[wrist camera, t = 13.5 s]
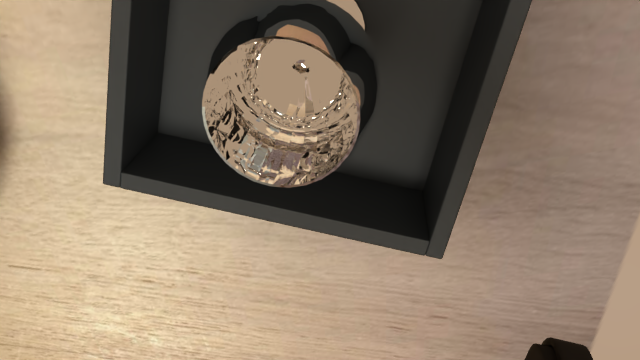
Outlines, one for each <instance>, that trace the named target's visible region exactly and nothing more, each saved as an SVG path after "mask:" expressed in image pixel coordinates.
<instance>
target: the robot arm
mask: <svg viewBox="0 0 640 360" xmlns="http://www.w3.org/2000/svg"><path fill="white" fill-rule="evenodd" d="M525 360H593V358H592V356H591V354H590V352H589V350H588V349H587V347H586V346H584V345H581V344H576V343H572V342H568V341H563V340H559V339H555V338H547V339H546V340H544V341H543V343H542V345H540V344H533V345H532V346H531V348H530V349H529V351H528V353H527V356H526V358H525Z"/></svg>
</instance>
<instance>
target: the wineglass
mask: <svg viewBox="0 0 640 360" xmlns="http://www.w3.org/2000/svg"><path fill="white" fill-rule="evenodd" d="M380 86H381V76H380V67H379V62H378V58H377V54H376V52H375V49H374V46H373V44H372V42H371V40H370V38H369V37H368V35H367V30H366V20H365V16H364V13H363V10H362V8H361V7H360V5H359V3H358V1H357V0H262V1H260V2H257V3H255V4H254V5H252V6H250V7H249V8H247V9H246V10H244V11H243V12H242V13H241V14H239V15H238V16H237V17H236V18H235V19H234V20H233V21H232V22H231V23H230V24H229V25H228V26H227V28H226V29H225V31H224V32H223V34H222V35H221V37H220V38H219V40H218V41H217V43H216V45H215V47H214V49H213V52H212V54H211V57H210V59H209V62H208V65H207V68H206V72H205V78H204V85H203V97H202V115H203V121H204V126H205V129H206V132H207V135H208V138H209V140H210V142H211V143H212V145H213V147H214V149H215V150H216V152H217V153H218V154H219V155H220V157H221V158H222V159H223V160H224V161H225V162H226V164H228V165H229V166H230V167H231V168H233V169H234V170H235V171H236V172H238V173H239V174H241V175H242V176H244V177H246V178H248V179H250V180H252V181H254V182H257V183H261V184H264V185H268V186H272V187H286V188H291V187H297V186H304V185H308V184H311V183H313V182H316V181H318V180H321V179H323V178H324V177H326V176H327V175H329V174H330V173H332V172H333V171H335V170H336V169H337V168H338V167H339V166H340V165H341V164H342V163H343V162H344V161H346V160H347V159H348V158H349V157H350V156H351V154H352V153H353V152H354V151H355V149H356V148H357V147H358V145H359V144H360V143H361V141H362V140H363V138H364V136H365V135H366V133H367V131H368V129H369V127H370V125H371V123H372V121H373V118H374V115H375V113H376V110H377V107H378V102H379V96H380Z"/></svg>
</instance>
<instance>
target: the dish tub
mask: <svg viewBox="0 0 640 360" xmlns="http://www.w3.org/2000/svg"><path fill="white" fill-rule="evenodd" d="M260 1H262V0H112V10H111V31H110V51H109V71H108V92H107V112H106V133H105V153H104V173H103V184H106V185H110V186H115V187H120V188H123V189H128V190H132V191H137V192H141V193H146V194H150V195H154V196H159V197H163V198H168V199H172V200H177V201H181V202H186V203H190V204H195V205H199V206H204V207H208V208H213V209H217V210H222V211H226V212H231V213H235V214H240V215H244V216H249V217H253V218H258V219H262V220H267V221H271V222H276V223H280V224H285V225H289V226H293V227H298V228H302V229H307V230H311V231H316V232H320V233H325V234H329V235H334V236H338V237H343V238H347V239H352V240H356V241H361V242H365V243H370V244H374V245H379V246H383V247H388V248H392V249H397V250H401V251H406V252H410V253H415V254H419V255H426V256H429V257H434V258H438V259H442V258H443V255H444V252H445V249H446V246H447V243H448V241H449V238H450V235H451V232H452V229H453V226H454V223H455V220H456V218H457V215H458V212H459V209H460V206H461V203H462V200H463V197H464V195H465V192H466V189H467V186H468V183H469V180H470V177H471V174H472V172H473V169H474V166H475V163H476V160H477V157H478V154H479V151H480V149H481V146H482V143H483V140H484V137H485V134H486V131H487V128H488V126H489V123H490V120H491V117H492V114H493V111H494V108H495V105H496V103H497V100H498V97H499V94H500V91H501V88H502V85H503V82H504V80H505V77H506V74H507V71H508V68H509V65H510V62H511V59H512V57H513V54H514V51H515V48H516V45H517V42H518V39H519V36H520V34H521V31H522V28H523V25H524V22H525V19H526V16H527V13H528V11H529V8H530V5H531V2H532V0H357V1H358V3H359V5H360V7H361V8H362V10H363V13H364V16H365V20H366V30H367V35H368V37H369V38H370V40H371V42H372V44H373V46H374V49H375V52H376V54H377V58H378V62H379V67H380V76H381V86H380V96H379V102H378V107H377V110H376V113H375V115H374V118H373V121H372V123H371V125H370V127H369V129H368V131H367V133H366V135H365V136H364V138H363V140H362V141H361V143H360V144H359V145H358V147H357V148H356V149H355V151H354V152H353V153H352V154H351V156H350V157H349V158H348V159H347V160H346V161H344V162H343V163H342V164H341V165H340V166H339V167H338V168H337V169H336V170H335V171H333V172H332V173H330V174H329V175H327V176H326V177H324V178H323V179H321V180H318V181H316V182H313V183H311V184H308V185H304V186H297V187H291V188H286V187H272V186H268V185H264V184H261V183H257V182H254V181H252V180H250V179H248V178H246V177H244V176H242V175H241V174H239V173H238V172H236V171H235V170H234V169H233V168H231V167H230V166H229V165H228V164H226V162H225V161H224V160H223V159H222V158H221V157H220V155H219V154H218V153H217V152H216V150H215V149H214V147H213V145H212V143H211V142H210V140H209V138H208V135H207V132H206V129H205V126H204V121H203V115H202V97H203V85H204V78H205V72H206V68H207V65H208V62H209V59H210V57H211V54H212V52H213V49H214V47H215V45H216V43H217V41H218V40H219V38H220V37H221V35H222V34H223V32H224V31H225V29H226V28H227V26H228V25H229V24H230V23H231V22H232V21H233V20H234V19H235V18H236V17H237V16H238V15H239V14H241V13H242V12H243V11H244V10H246V9H247V8H249V7H250V6H252V5H254V4H255V3H257V2H260Z"/></svg>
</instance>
